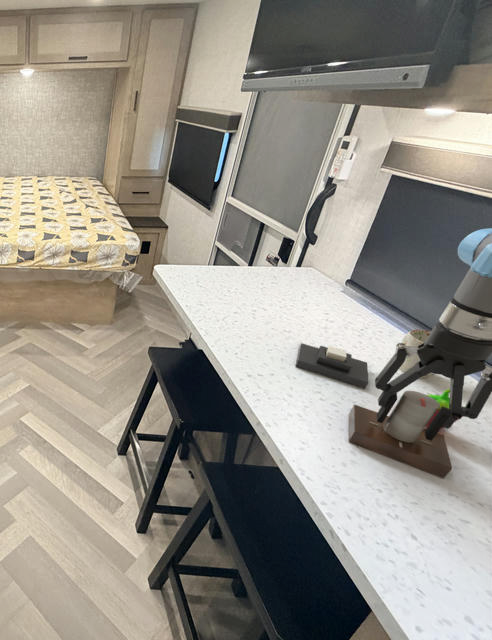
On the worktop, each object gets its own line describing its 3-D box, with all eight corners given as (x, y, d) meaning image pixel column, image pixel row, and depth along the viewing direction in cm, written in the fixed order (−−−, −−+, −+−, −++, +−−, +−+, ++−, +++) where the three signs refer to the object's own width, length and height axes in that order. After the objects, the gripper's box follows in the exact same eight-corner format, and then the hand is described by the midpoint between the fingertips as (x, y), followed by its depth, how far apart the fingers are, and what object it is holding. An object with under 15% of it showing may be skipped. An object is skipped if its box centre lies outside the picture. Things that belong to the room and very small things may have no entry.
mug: (401, 377, 100) (421, 344, 95) (375, 349, 111) (392, 319, 106) (443, 383, 98) (465, 350, 93) (412, 354, 108) (431, 323, 104)
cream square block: (343, 356, 102) (346, 350, 101) (343, 362, 100) (346, 357, 99) (326, 351, 104) (328, 345, 103) (325, 357, 102) (328, 352, 101)
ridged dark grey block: (363, 369, 103) (370, 356, 101) (364, 389, 96) (371, 376, 94) (298, 349, 111) (303, 337, 109) (295, 366, 104) (300, 354, 102)
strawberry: (397, 412, 89) (419, 377, 85) (440, 421, 87) (465, 385, 82) (410, 430, 85) (434, 394, 80) (455, 440, 82) (483, 404, 77)
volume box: (435, 445, 81) (444, 434, 80) (443, 478, 74) (453, 467, 73) (348, 414, 89) (354, 403, 87) (348, 441, 82) (354, 430, 81)
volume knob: (382, 420, 83) (403, 385, 79) (414, 431, 80) (438, 396, 76) (383, 434, 80) (405, 399, 75) (417, 447, 77) (442, 411, 73)
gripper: (393, 320, 71) (341, 415, 82) (564, 362, 60) (477, 465, 71) (391, 304, 77) (341, 395, 87) (548, 340, 66) (469, 439, 76)
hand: (403, 426), depth 79 cm, fingers open, 6 cm apart
